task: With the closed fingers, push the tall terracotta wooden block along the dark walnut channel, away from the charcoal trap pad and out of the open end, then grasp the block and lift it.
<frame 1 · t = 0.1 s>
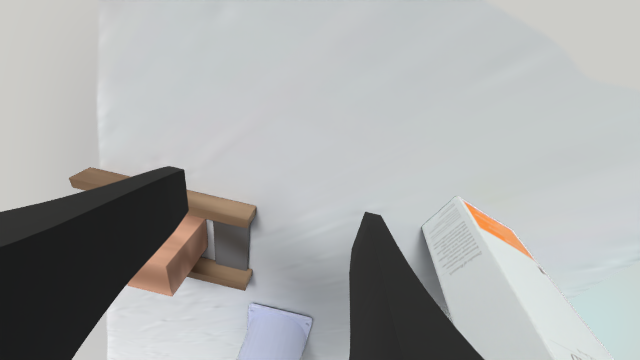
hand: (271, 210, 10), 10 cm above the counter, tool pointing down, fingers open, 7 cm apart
terracotta block: (188, 228, 26), resting in walnut channel
walnut channel: (178, 226, 26), on the counter
skincare box: (463, 224, 21), on the counter
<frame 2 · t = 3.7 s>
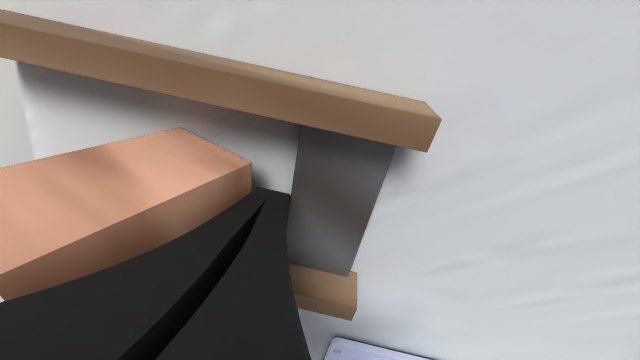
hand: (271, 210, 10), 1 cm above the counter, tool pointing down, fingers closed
terracotta block: (216, 187, 11), point 1 cm above the counter, tilted 24°
walnut channel: (205, 174, 11), on the counter
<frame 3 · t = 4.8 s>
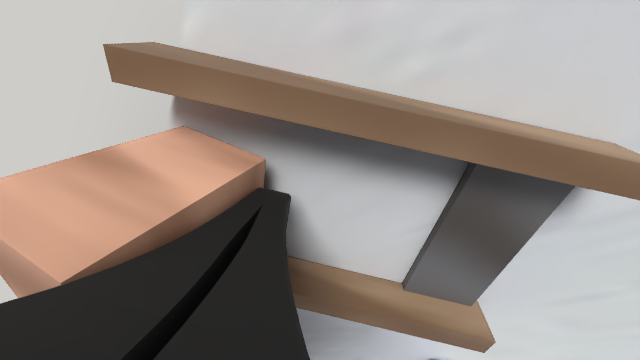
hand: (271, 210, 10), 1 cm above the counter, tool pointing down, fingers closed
terracotta block: (223, 184, 11), point 1 cm above the counter, tilted 16°, touching gripper
walnut channel: (345, 206, 11), on the counter
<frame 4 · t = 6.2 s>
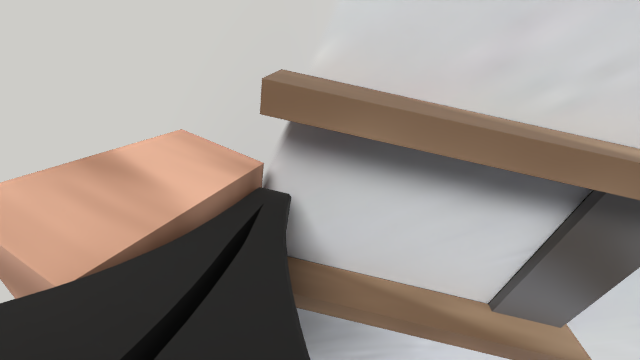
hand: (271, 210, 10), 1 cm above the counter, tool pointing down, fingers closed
terracotta block: (221, 187, 11), point 1 cm above the counter, tilted 16°, touching gripper
walnut channel: (447, 230, 11), on the counter
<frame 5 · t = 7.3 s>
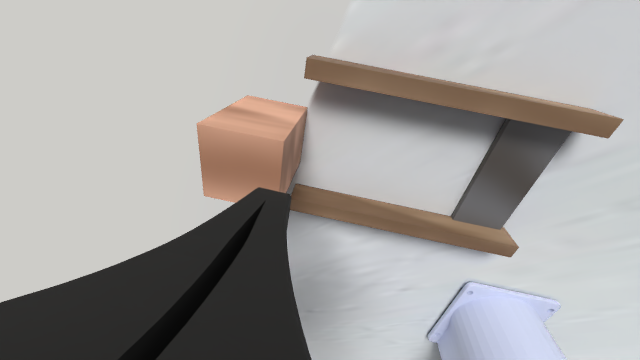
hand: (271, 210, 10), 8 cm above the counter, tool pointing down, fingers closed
terracotta block: (275, 130, 17), on the counter
walnut channel: (417, 158, 17), on the counter
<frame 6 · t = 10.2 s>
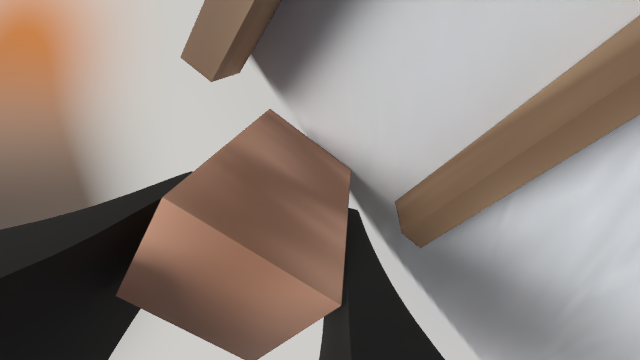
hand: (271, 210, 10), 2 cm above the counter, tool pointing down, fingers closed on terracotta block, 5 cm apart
terracotta block: (285, 173, 11), on the counter, touching gripper
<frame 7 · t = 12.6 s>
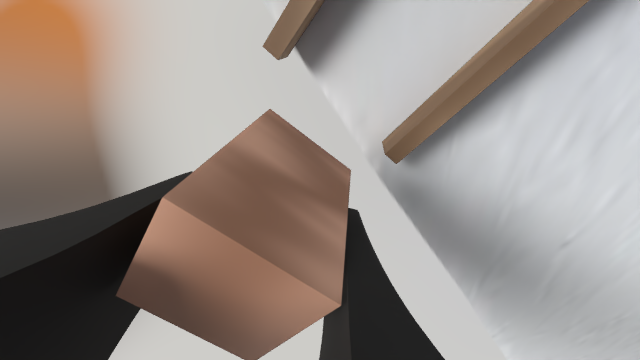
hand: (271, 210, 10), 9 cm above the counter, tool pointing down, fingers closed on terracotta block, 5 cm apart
terracotta block: (285, 174, 11), point 7 cm above the counter, touching gripper
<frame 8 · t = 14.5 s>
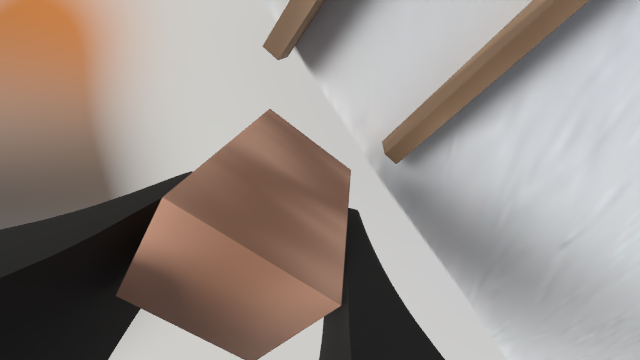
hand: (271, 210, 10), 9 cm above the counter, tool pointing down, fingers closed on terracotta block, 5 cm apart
terracotta block: (285, 174, 11), point 7 cm above the counter, touching gripper
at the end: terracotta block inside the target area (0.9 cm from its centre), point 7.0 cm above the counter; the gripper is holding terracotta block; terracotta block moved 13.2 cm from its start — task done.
